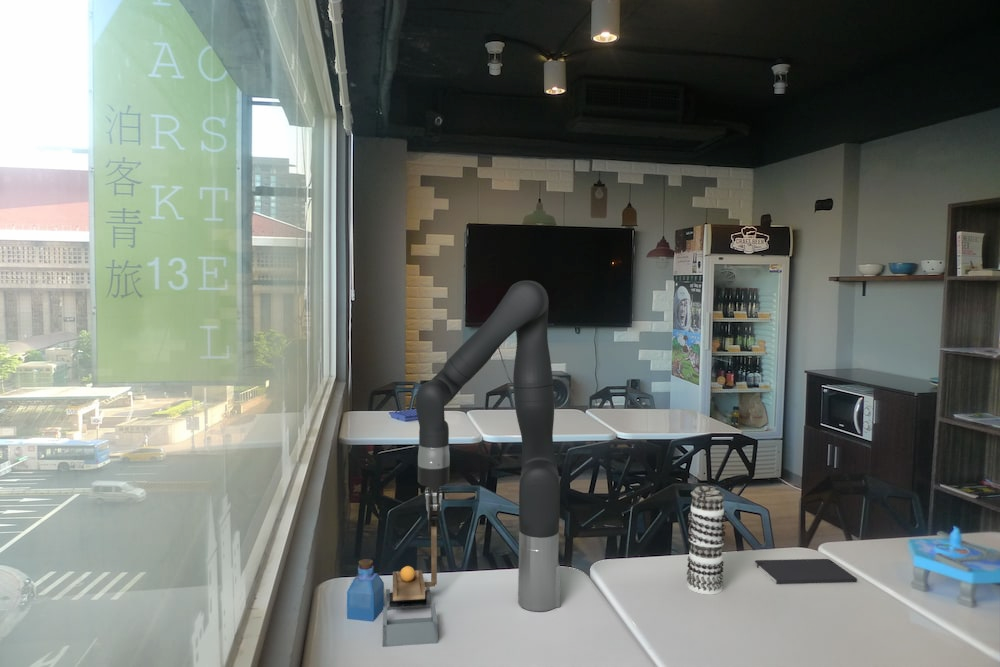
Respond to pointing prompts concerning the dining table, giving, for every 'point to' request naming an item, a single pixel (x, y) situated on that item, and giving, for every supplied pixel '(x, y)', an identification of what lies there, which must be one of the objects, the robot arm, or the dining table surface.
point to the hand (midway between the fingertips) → (433, 533)
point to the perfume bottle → (365, 594)
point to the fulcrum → (407, 601)
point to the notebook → (804, 571)
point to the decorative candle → (706, 540)
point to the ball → (407, 574)
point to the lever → (417, 577)
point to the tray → (410, 630)
